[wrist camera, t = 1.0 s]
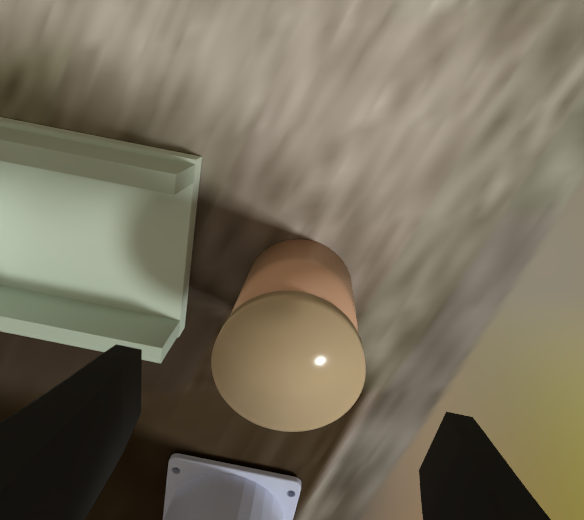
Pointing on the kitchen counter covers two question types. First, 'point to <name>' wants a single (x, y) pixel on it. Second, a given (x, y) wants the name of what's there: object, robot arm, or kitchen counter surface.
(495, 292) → the kitchen counter surface
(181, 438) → the kitchen counter surface
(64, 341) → the pale green shallow tray
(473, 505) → the robot arm
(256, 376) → the jar
